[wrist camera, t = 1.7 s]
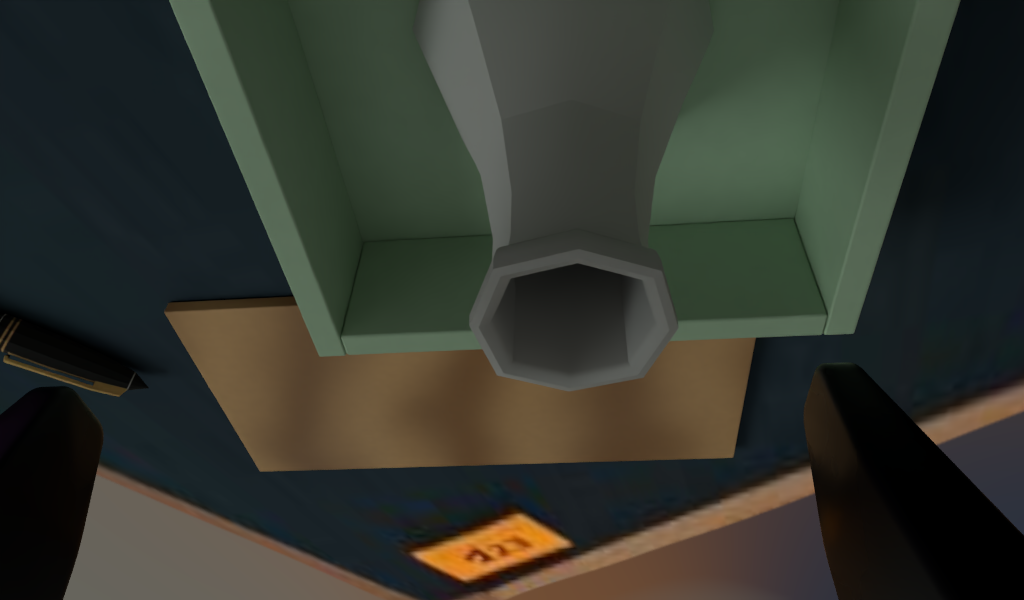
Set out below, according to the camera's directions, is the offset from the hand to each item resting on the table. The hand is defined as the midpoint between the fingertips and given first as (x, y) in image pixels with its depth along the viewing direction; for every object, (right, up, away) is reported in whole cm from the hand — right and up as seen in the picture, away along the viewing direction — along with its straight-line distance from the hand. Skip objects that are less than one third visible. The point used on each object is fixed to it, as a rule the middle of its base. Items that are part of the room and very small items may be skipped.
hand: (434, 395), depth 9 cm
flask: (+2, +8, +10) cm, 13 cm away
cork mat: (0, -2, +20) cm, 20 cm away
